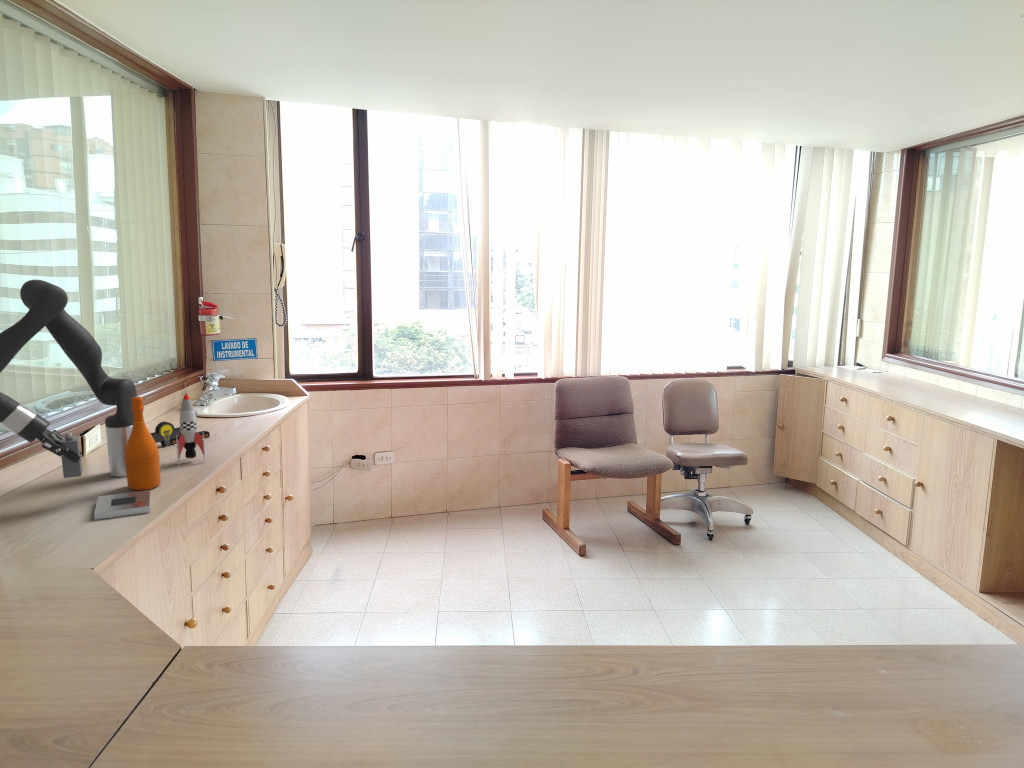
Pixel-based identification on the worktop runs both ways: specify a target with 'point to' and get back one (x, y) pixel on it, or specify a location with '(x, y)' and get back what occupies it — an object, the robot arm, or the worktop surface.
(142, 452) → the wine bottle
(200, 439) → the toy
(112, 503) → the socket
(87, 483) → the worktop surface
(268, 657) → the worktop surface
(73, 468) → the plug
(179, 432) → the decorative sign
